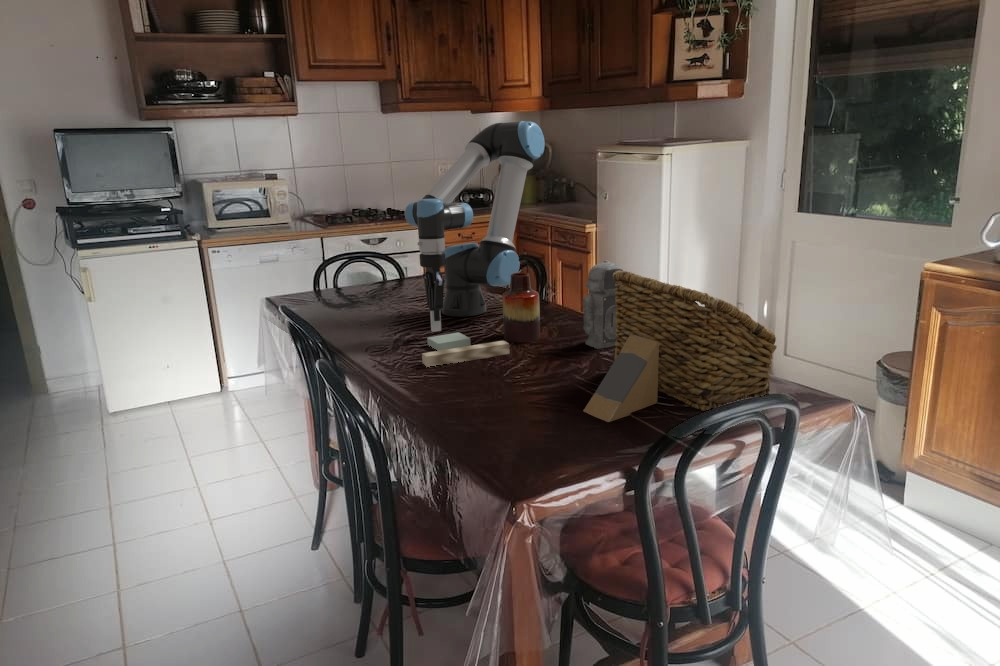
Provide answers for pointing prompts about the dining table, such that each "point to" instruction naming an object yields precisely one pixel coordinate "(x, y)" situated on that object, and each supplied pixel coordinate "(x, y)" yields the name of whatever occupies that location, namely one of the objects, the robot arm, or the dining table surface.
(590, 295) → the figurine
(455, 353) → the curved wooden bar
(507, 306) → the vase
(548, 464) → the dining table surface
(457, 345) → the block
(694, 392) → the basket
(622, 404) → the sandwich container
